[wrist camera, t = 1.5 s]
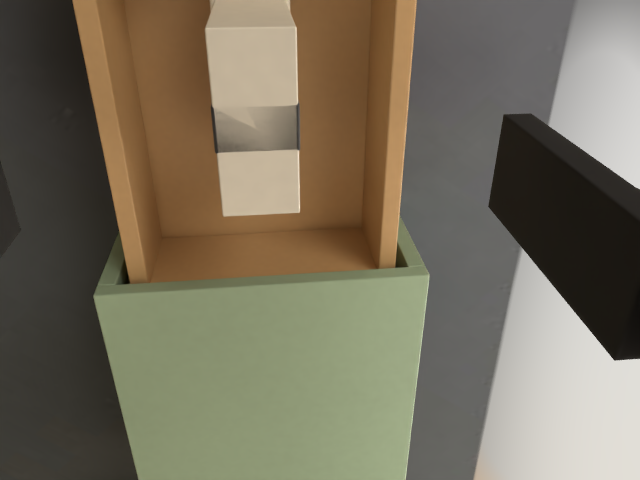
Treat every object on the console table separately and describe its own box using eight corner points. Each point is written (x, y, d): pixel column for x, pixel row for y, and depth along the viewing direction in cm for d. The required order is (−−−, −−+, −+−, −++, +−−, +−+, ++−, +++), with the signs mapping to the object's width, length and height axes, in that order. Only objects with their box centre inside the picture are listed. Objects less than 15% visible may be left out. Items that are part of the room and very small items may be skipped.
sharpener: (212, -24, 23) (195, 9, 16) (285, -25, 24) (303, 7, 16) (226, 138, 27) (217, 230, 19) (289, 135, 27) (306, 226, 19)
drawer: (42, -270, 20) (-26, -331, 15) (416, -259, 21) (468, -311, 16) (138, 241, 30) (116, 307, 25) (384, 228, 32) (409, 288, 27)
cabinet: (125, 213, 30) (92, 296, 24) (392, 199, 32) (430, 274, 25) (169, 438, 39) (153, 543, 33) (376, 420, 41) (401, 517, 34)
